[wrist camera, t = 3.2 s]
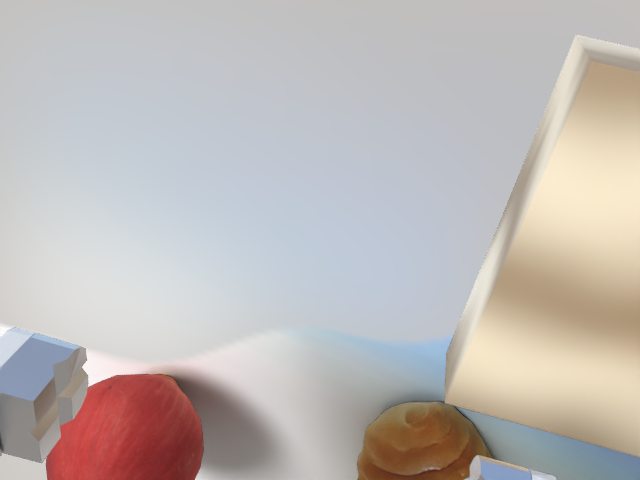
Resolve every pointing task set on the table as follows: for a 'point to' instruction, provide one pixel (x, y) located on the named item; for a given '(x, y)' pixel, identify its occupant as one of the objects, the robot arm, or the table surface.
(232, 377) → the table surface
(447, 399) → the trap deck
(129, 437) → the onion
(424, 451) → the pastry
